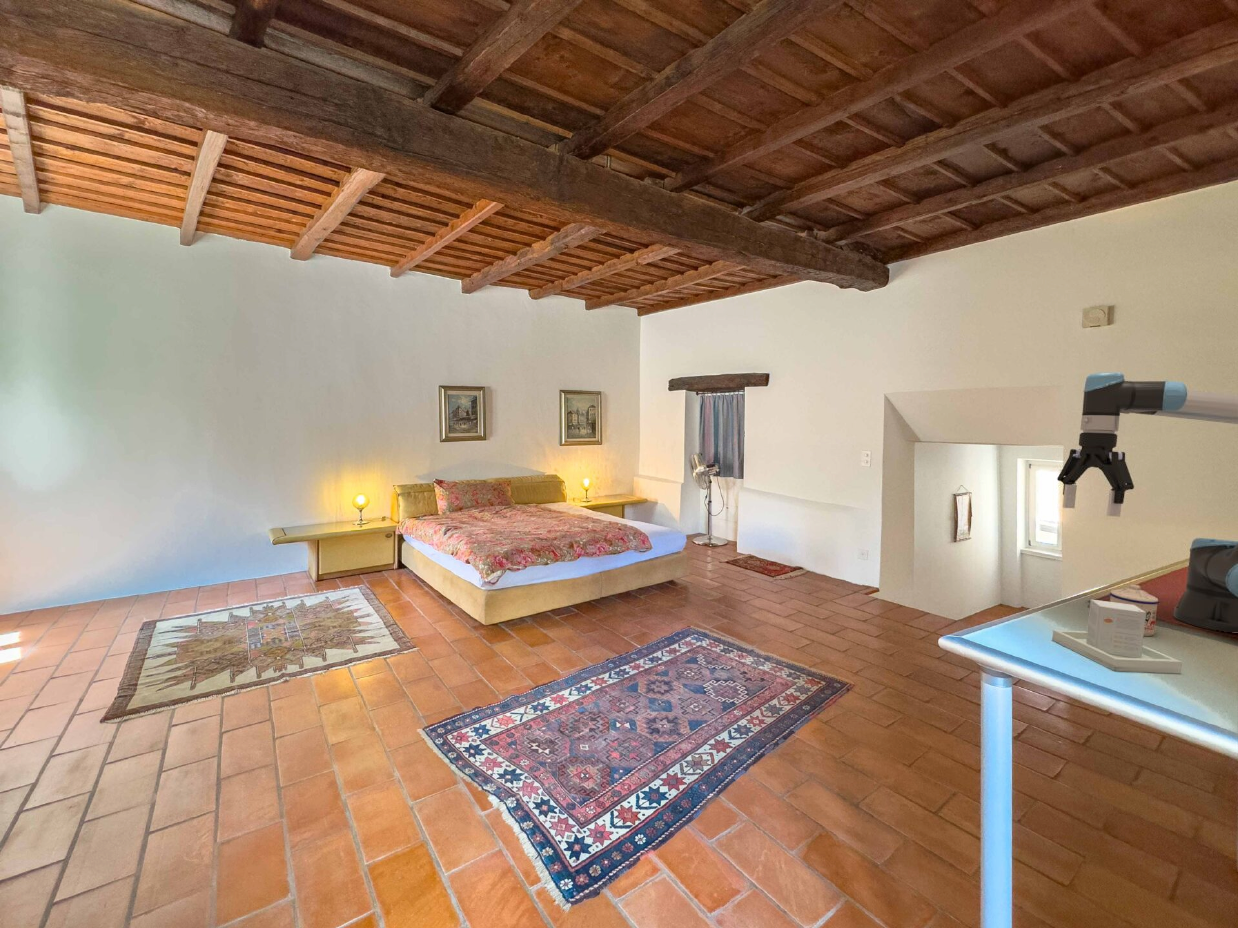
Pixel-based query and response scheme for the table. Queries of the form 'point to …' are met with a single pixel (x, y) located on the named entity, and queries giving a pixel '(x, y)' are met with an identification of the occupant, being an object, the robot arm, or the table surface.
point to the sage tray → (1146, 663)
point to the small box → (1116, 628)
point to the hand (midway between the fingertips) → (1089, 511)
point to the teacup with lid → (1138, 604)
